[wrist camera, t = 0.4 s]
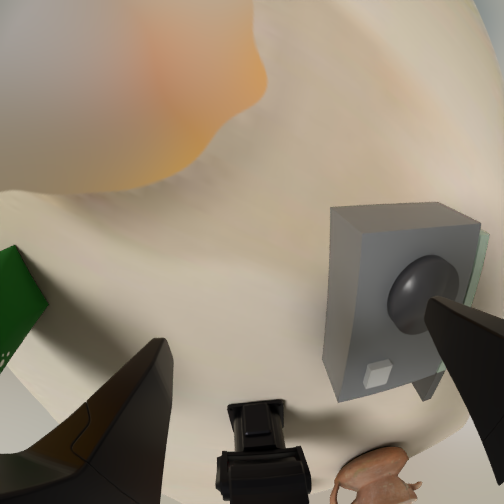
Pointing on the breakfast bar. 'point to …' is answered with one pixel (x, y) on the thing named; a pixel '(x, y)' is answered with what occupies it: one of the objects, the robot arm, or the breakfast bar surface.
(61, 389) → the breakfast bar surface
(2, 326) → the milk carton
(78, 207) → the breakfast bar surface
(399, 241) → the camera case
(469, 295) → the side door
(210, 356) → the breakfast bar surface
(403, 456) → the ceramic jug
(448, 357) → the robot arm
